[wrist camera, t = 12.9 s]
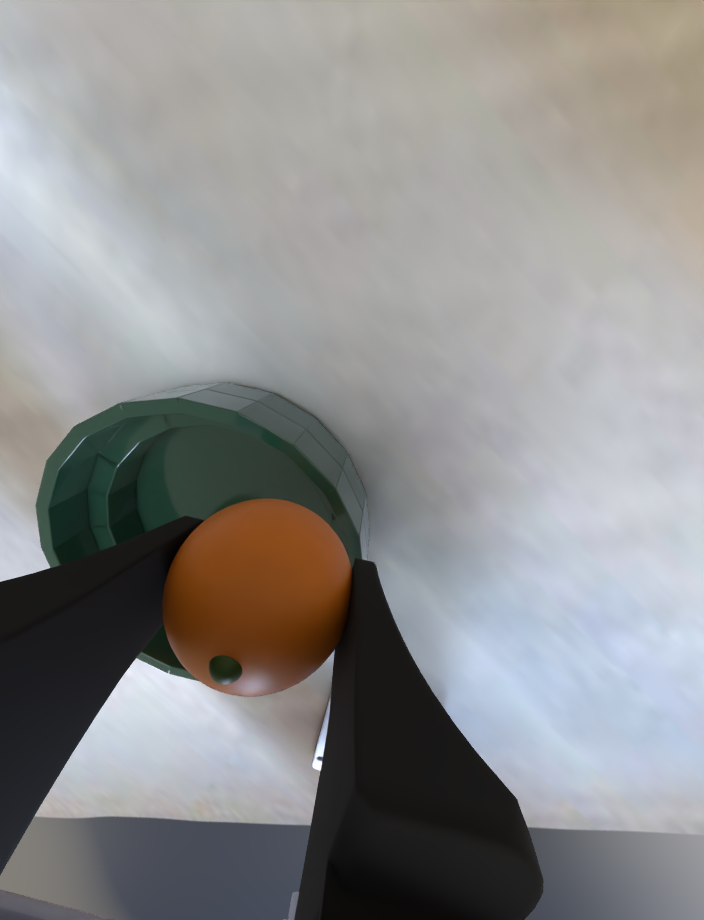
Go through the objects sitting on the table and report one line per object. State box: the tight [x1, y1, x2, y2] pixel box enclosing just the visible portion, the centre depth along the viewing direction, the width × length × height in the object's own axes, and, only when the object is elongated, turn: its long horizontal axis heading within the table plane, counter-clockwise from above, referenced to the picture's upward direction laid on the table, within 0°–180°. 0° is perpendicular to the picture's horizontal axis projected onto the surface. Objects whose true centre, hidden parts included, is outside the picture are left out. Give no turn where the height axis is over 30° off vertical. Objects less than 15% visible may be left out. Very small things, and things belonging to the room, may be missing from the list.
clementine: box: [162, 499, 352, 697], centre depth 10 cm, size 5×5×5 cm
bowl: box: [36, 383, 369, 681], centre depth 18 cm, size 15×15×5 cm
